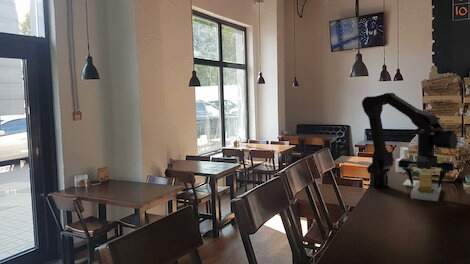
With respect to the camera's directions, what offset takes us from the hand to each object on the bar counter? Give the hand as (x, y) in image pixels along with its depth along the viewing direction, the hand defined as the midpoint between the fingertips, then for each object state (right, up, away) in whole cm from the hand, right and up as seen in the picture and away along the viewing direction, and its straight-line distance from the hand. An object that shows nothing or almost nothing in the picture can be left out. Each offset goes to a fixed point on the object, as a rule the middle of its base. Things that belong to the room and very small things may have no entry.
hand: (425, 186), depth 143 cm
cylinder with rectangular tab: (+13, +1, +46) cm, 47 cm away
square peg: (0, -4, 0) cm, 4 cm away
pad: (+6, -2, +19) cm, 20 cm away
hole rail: (+2, -4, +3) cm, 5 cm away
